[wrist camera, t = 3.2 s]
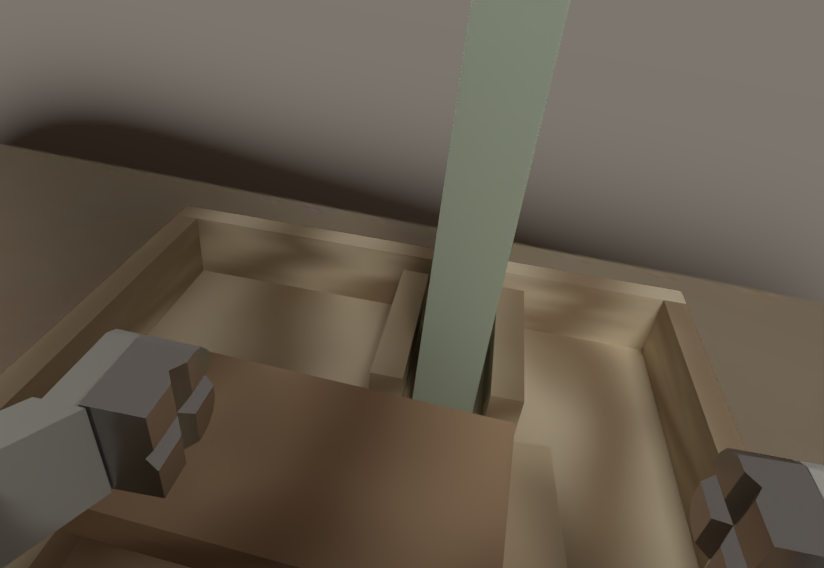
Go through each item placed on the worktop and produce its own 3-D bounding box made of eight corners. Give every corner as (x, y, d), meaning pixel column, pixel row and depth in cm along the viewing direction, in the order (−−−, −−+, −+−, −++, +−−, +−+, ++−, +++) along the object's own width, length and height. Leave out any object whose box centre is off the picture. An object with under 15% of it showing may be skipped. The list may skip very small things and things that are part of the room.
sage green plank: (410, 408, 23) (495, -163, 12) (427, 330, 27) (501, -146, 16) (470, 420, 22) (606, -149, 12) (478, 340, 27) (585, -136, 16)
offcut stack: (22, 624, 15) (-34, 535, 13) (162, 422, 21) (143, 334, 18) (551, 749, 14) (601, 678, 12) (543, 499, 20) (575, 417, 17)
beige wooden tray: (-179, 717, 14) (-287, 633, 12) (197, 280, 31) (187, 205, 28) (813, 971, 12) (945, 939, 10) (648, 362, 29) (681, 291, 26)
